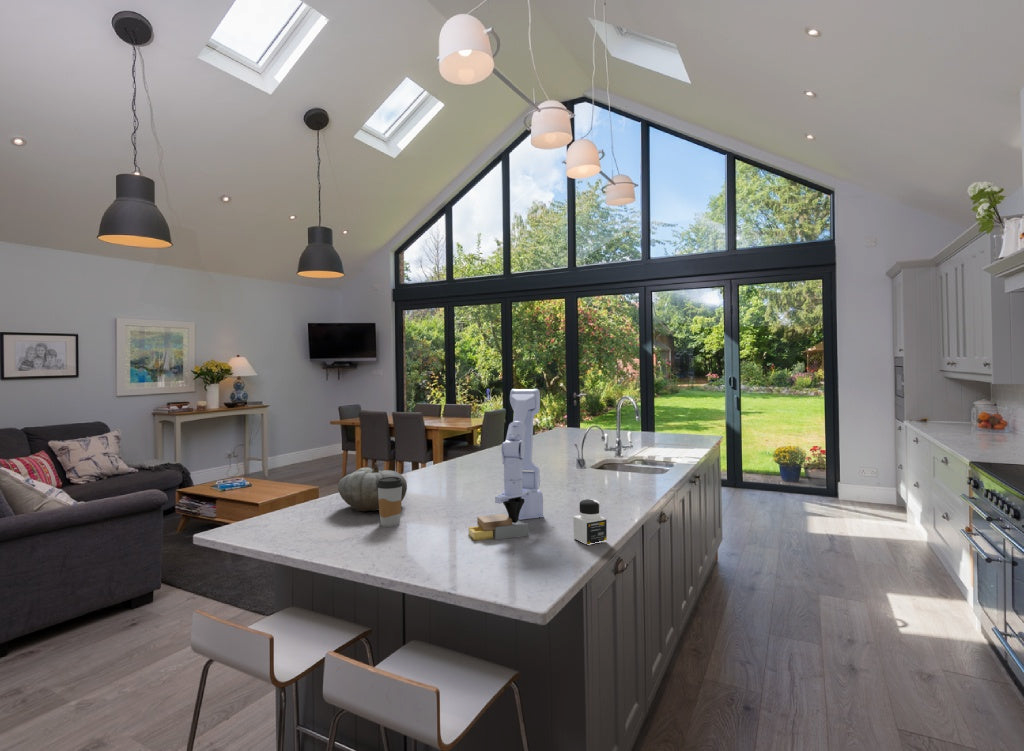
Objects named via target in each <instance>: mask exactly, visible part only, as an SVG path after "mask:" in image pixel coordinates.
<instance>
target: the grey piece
mask: <svg viewBox="0 0 1024 751" xmlns="http://www.w3.org/2000/svg"><path fill="white" fill-rule="evenodd" d="M529 525H530V524H529V523H523V521H521V520H519V517H518V521H517V522H516V523H512V525H510V526H501V527H496V530H493V539H495V540H504V539H511V538H520V537H528V535H529V534H530V533H529V527H530V526H529ZM529 536H530V535H529Z"/></svg>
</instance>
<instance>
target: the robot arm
mask: <svg viewBox="0 0 1024 751" xmlns="http://www.w3.org/2000/svg"><path fill="white" fill-rule="evenodd" d="M540 394H541V393H540V390H539V389H538V388H534V389H533V388H531V389H530V388H523V389H522V388H521V389H518V388H517V389H516V388H512V389H511V390H510V393H509V403H510V405H511V408H512V410H513V417H512V418H513V420H512V422H510V423H509V424H508V428H507V432H506V436H505V440H504V441H503V442H502V443H501V457H502V465H503V475H504V476H503V483H504V484H503V486H504V487H503V490H502V492H501V493H500V494H498V495H496V496H494V503H496V504H499V505H500V504H503V506H504V508H505V509H506V511H507V512H506V513H507V516H508V517H509V518H511V519H512V523H516V522H517V521H518V517H519V520H520V521H521V520H529V519H531V520H532V519H537V518H539V517H540V518H544V517H545V515H544V496H543V493H542V490H541V489H540V486H541V475H540V473H541V472H540V468H539V466H537V464H535V463H534V461H533V444H534V443H533V440H534V438H533V436H534V420H535V415H538V414H540V409H541V407H540V406H541V395H540Z"/></svg>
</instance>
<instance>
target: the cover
mask: <svg viewBox="0 0 1024 751" xmlns="http://www.w3.org/2000/svg"><path fill="white" fill-rule="evenodd" d="M510 525H512V519H511V518H509V516H508V514H507V515H506V513H499V514H490V515H482V516H477V525H476V526H479V527H481V528H482V529H483V530H484V531H488V530H496V527H501V526H510Z"/></svg>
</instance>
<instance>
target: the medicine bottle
mask: <svg viewBox="0 0 1024 751" xmlns="http://www.w3.org/2000/svg"><path fill="white" fill-rule="evenodd" d="M607 528H608V527H607V518H605V517H604V516H601V503H600V501H598V500H597V499H590V498H589V499H588V498H587V499H583V500H581V501H580V502H579V515H573V539H574V538H575V539H577V540H579V541H582V542H584V543H586V544H590V543H595V542H599V541H604V540H607V536H608V535H607V530H608V529H607Z"/></svg>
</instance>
